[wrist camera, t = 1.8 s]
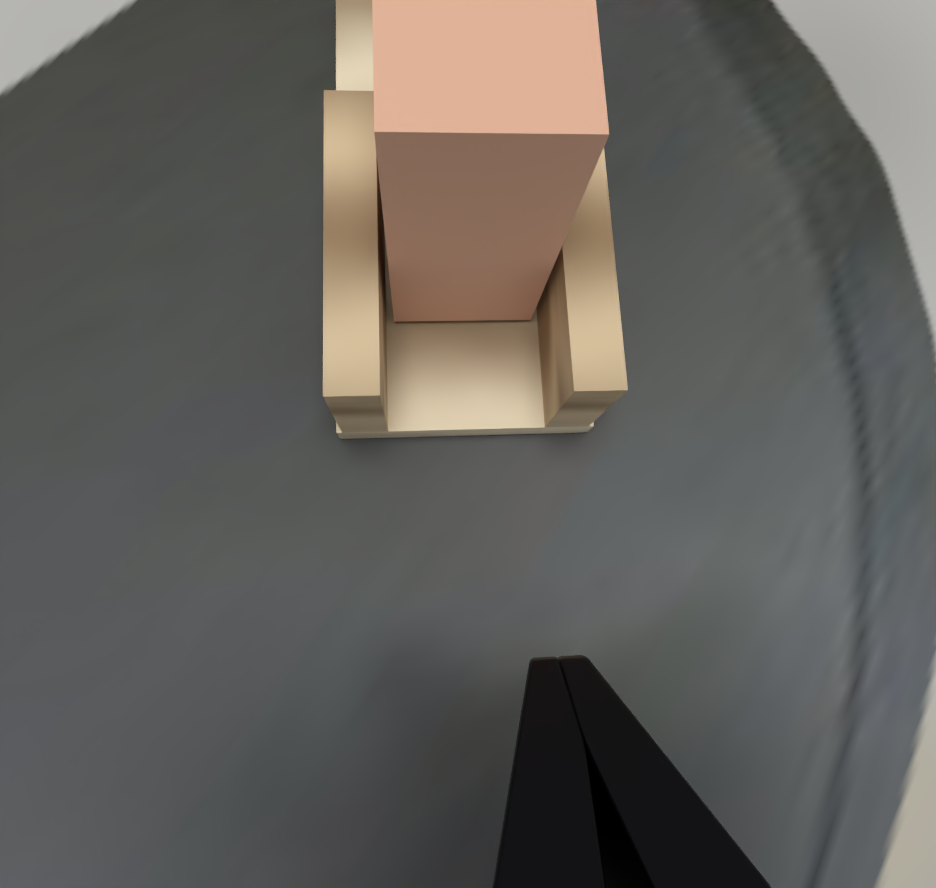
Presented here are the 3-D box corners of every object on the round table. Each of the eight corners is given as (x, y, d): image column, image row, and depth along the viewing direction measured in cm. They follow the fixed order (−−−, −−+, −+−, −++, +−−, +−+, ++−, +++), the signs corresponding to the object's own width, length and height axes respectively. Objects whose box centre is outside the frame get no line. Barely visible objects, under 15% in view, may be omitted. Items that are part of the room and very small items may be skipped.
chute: (586, 432, 24) (634, 390, 19) (339, 439, 23) (315, 396, 18) (551, 10, 28) (582, -126, 23) (338, 4, 27) (318, -137, 22)
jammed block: (530, 319, 23) (609, 134, 14) (394, 321, 23) (374, 132, 13) (520, 174, 25) (586, -92, 15) (391, 173, 24) (370, -100, 14)
